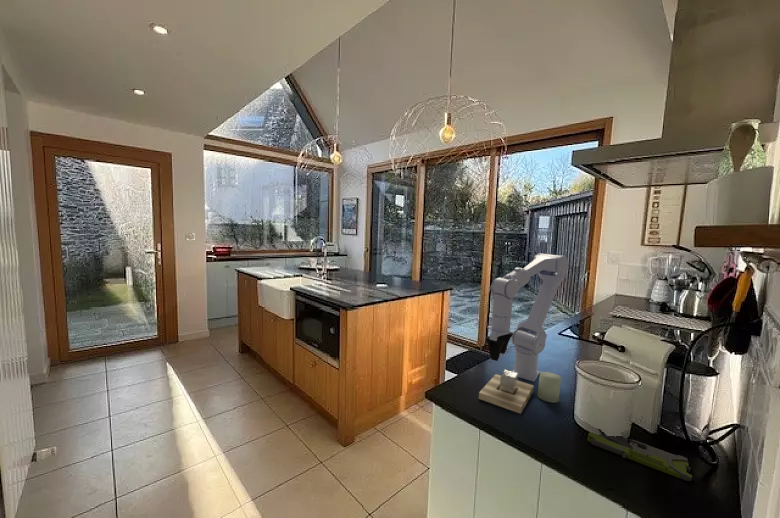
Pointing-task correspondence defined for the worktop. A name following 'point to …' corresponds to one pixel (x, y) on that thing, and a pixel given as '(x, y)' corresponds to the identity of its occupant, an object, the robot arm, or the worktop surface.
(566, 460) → the worktop surface
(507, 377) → the square peg
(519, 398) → the socket board
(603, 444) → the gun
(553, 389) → the round peg
